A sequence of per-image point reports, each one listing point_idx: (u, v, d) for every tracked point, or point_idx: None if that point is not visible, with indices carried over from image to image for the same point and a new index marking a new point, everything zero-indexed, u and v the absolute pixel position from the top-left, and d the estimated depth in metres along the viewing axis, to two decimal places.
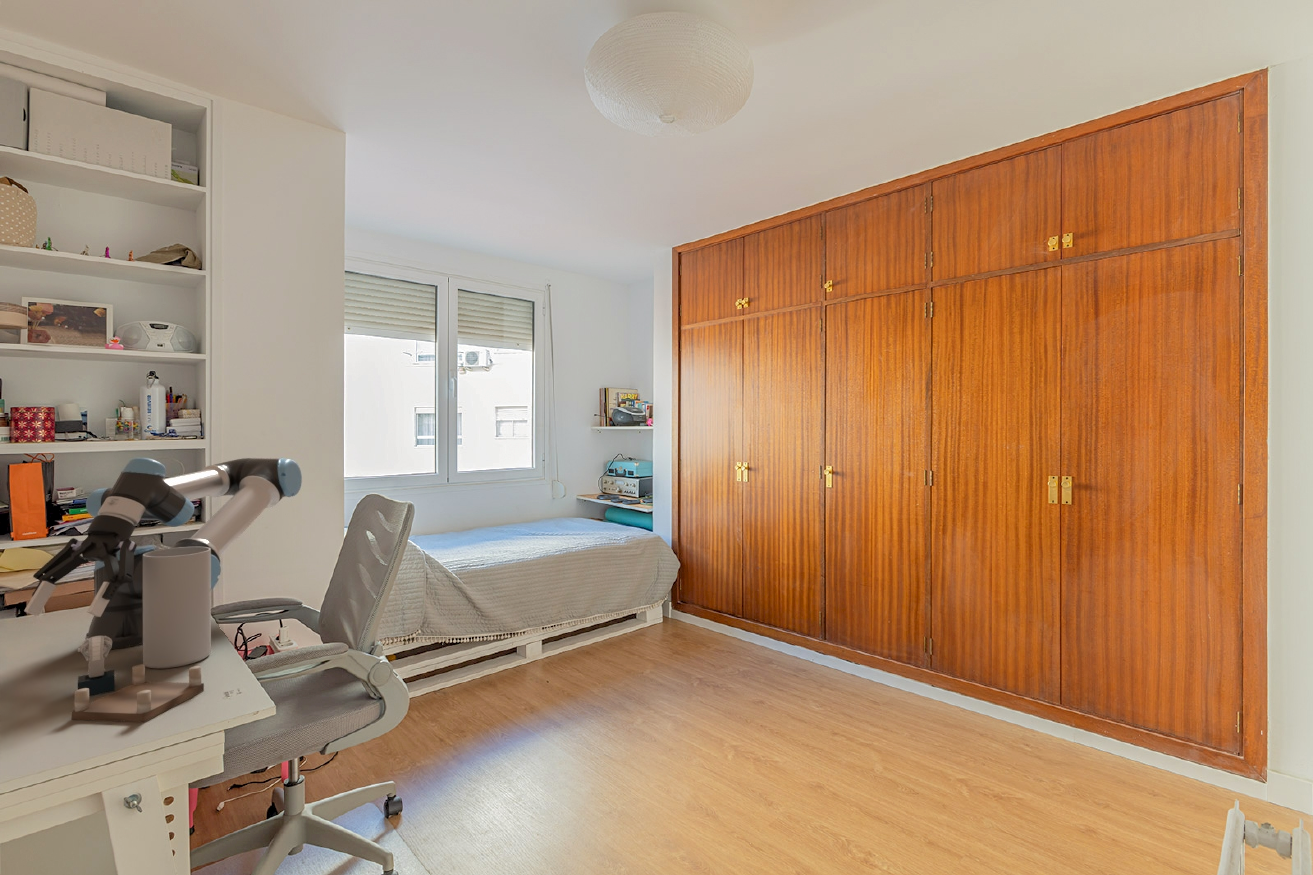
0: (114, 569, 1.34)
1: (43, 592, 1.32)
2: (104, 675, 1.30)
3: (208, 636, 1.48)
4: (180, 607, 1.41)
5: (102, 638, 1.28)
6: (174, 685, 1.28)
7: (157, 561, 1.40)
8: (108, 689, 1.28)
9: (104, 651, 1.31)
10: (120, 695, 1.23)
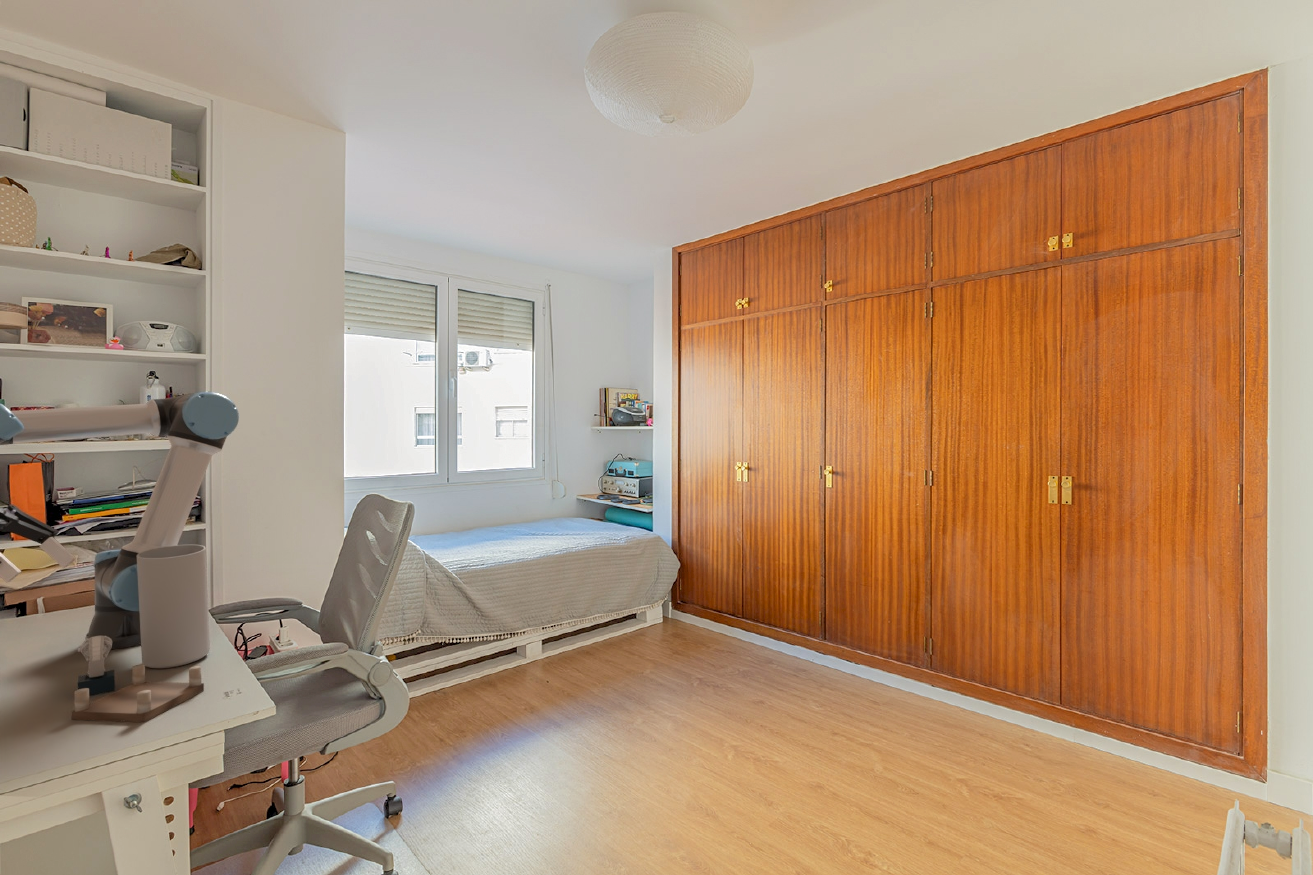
0: None
1: (50, 550, 1.33)
2: (104, 675, 1.30)
3: (207, 634, 1.47)
4: (177, 608, 1.40)
5: (102, 638, 1.28)
6: (174, 685, 1.28)
7: (152, 563, 1.38)
8: (108, 689, 1.28)
9: (104, 651, 1.31)
10: (120, 695, 1.23)
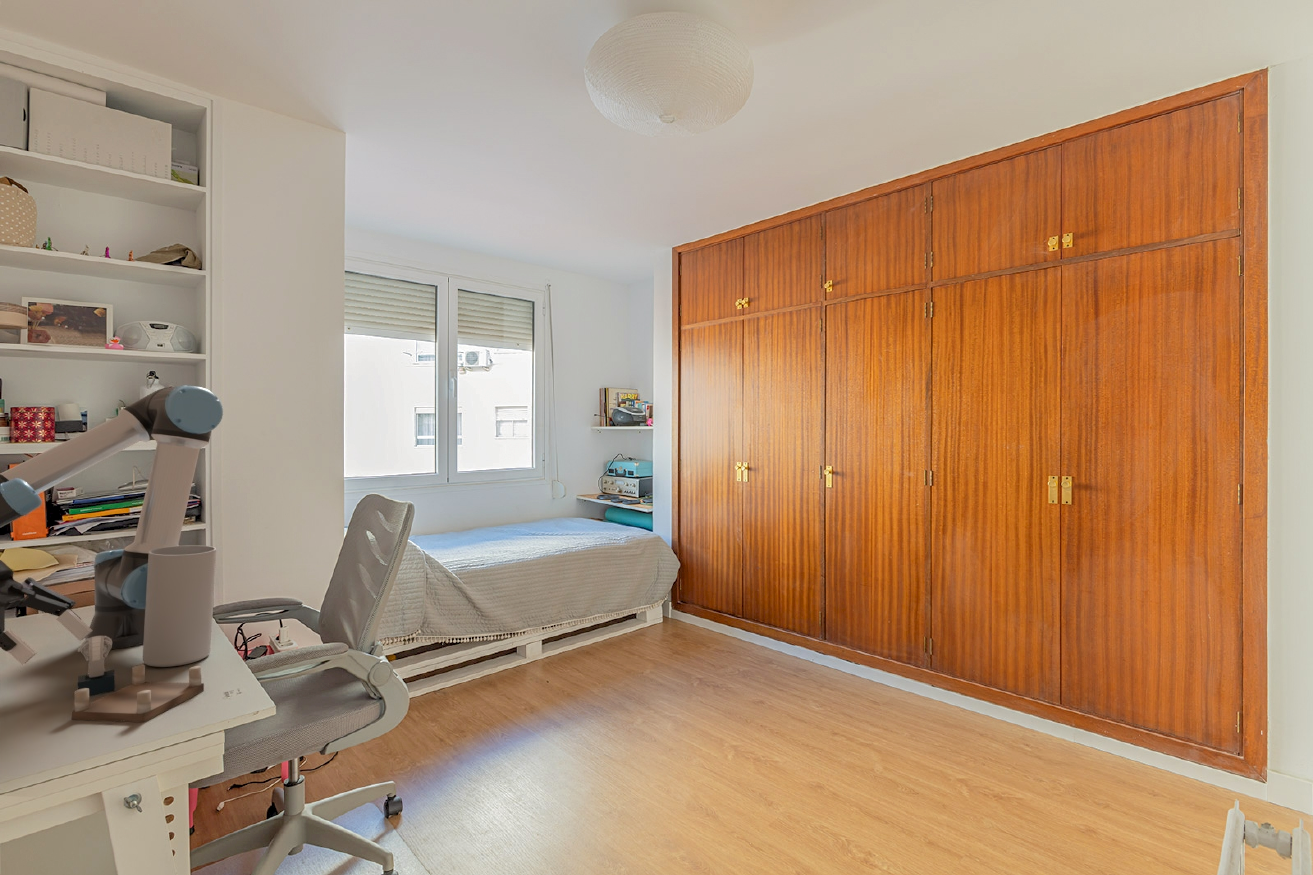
0: None
1: (67, 623, 1.32)
2: (104, 675, 1.30)
3: (209, 636, 1.48)
4: (184, 606, 1.42)
5: (102, 638, 1.28)
6: (174, 685, 1.28)
7: (164, 559, 1.40)
8: (108, 689, 1.28)
9: (104, 651, 1.31)
10: (120, 695, 1.23)
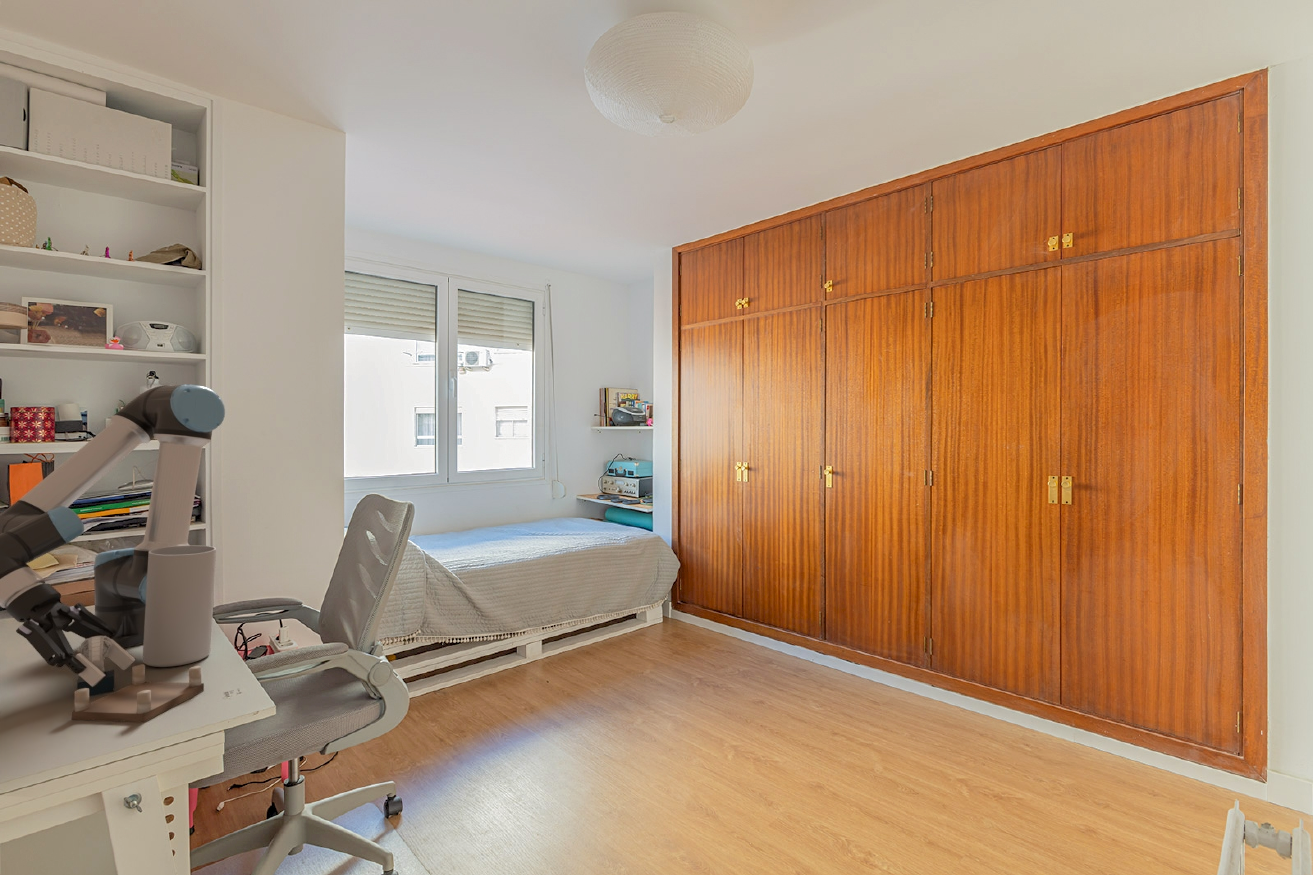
0: None
1: (110, 653, 1.32)
2: None
3: (209, 636, 1.48)
4: (183, 606, 1.42)
5: (102, 638, 1.28)
6: (174, 685, 1.28)
7: (163, 559, 1.40)
8: (107, 689, 1.28)
9: (104, 651, 1.31)
10: (120, 695, 1.23)
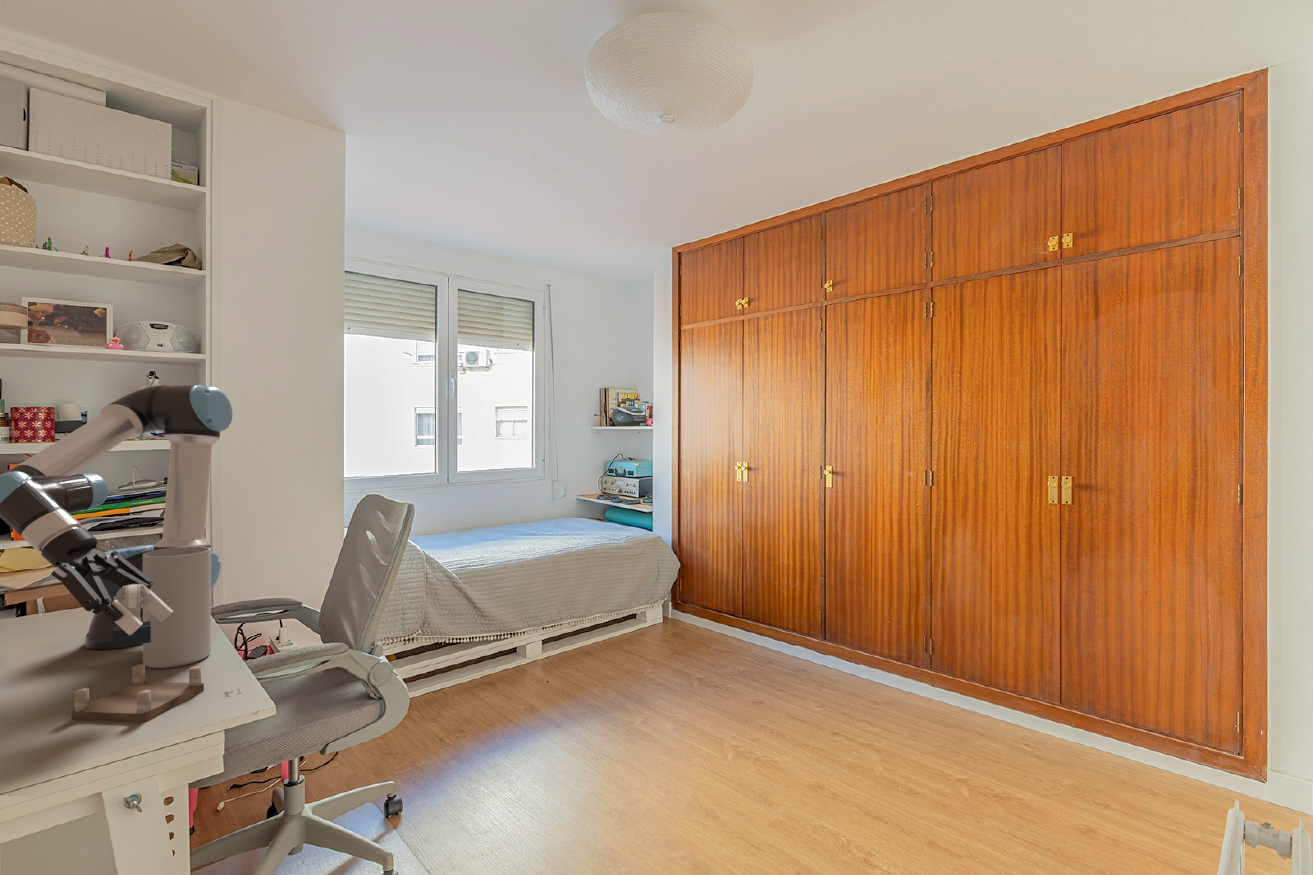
0: None
1: (147, 603, 1.25)
2: (140, 626, 1.23)
3: (208, 636, 1.48)
4: (180, 607, 1.41)
5: (139, 586, 1.21)
6: (174, 685, 1.28)
7: (157, 561, 1.40)
8: (144, 640, 1.21)
9: (140, 601, 1.24)
10: (120, 695, 1.23)
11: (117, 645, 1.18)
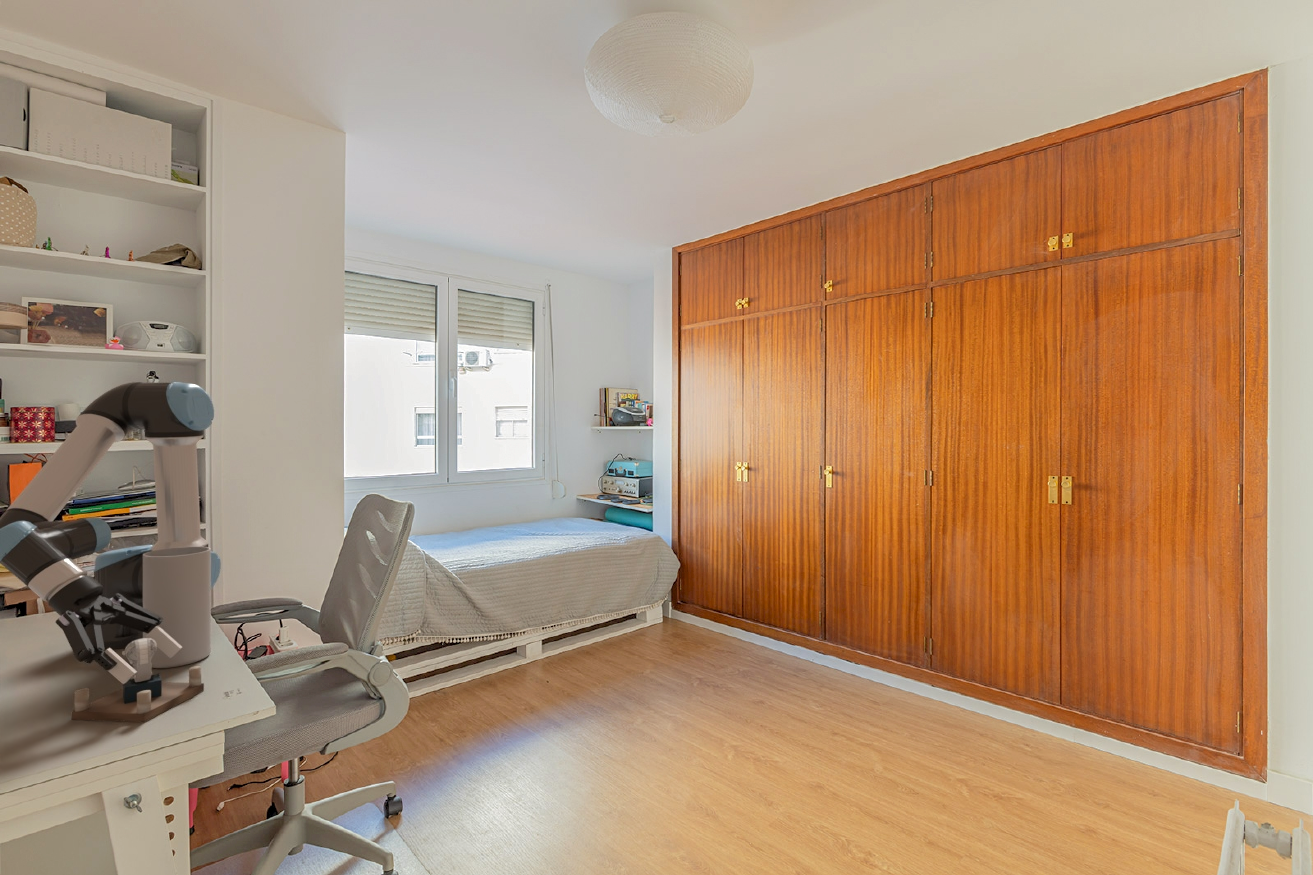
0: None
1: (157, 640, 1.28)
2: (149, 679, 1.24)
3: (208, 636, 1.48)
4: (180, 607, 1.41)
5: (148, 640, 1.22)
6: (174, 685, 1.28)
7: (157, 561, 1.40)
8: (155, 694, 1.22)
9: None
10: (120, 695, 1.23)
11: (129, 701, 1.19)
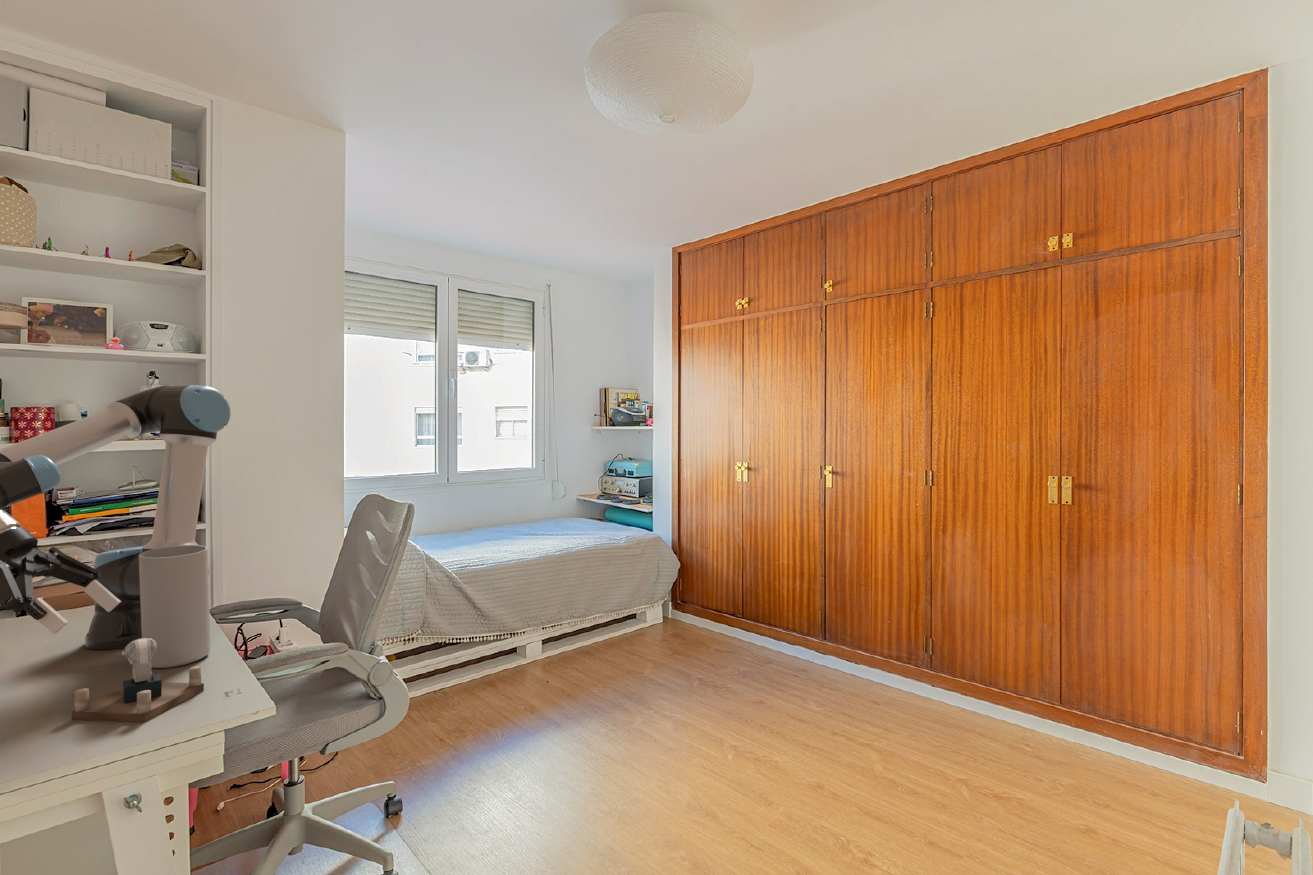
0: None
1: (95, 593, 1.27)
2: (149, 679, 1.24)
3: (207, 635, 1.47)
4: (178, 607, 1.41)
5: (148, 640, 1.22)
6: (174, 685, 1.28)
7: (153, 562, 1.39)
8: (155, 694, 1.22)
9: None
10: (120, 695, 1.23)
11: (129, 701, 1.19)
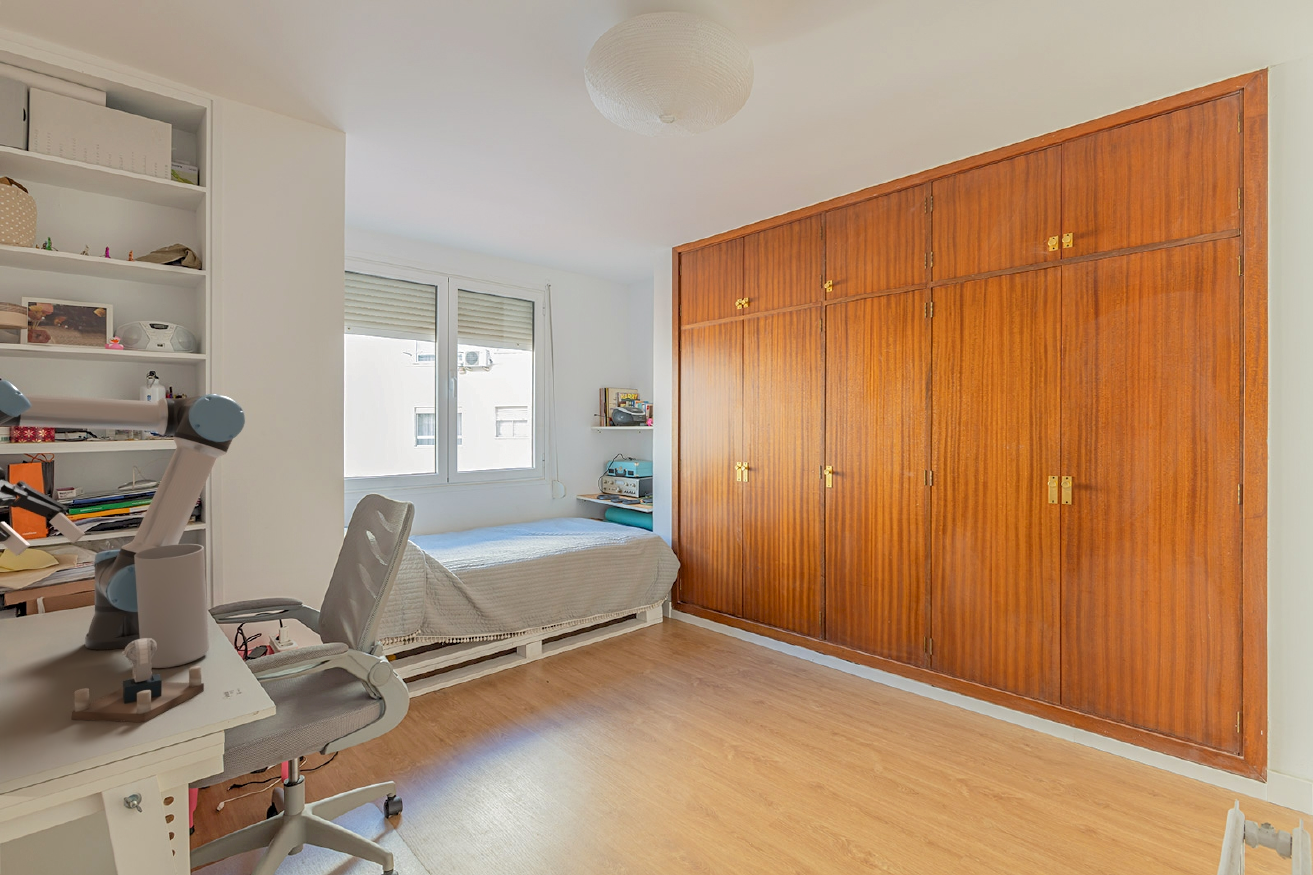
0: None
1: (60, 525, 1.35)
2: (149, 679, 1.24)
3: (206, 634, 1.47)
4: (176, 608, 1.40)
5: (148, 640, 1.22)
6: (174, 685, 1.28)
7: (150, 563, 1.37)
8: (155, 694, 1.22)
9: None
10: (120, 695, 1.23)
11: (129, 701, 1.19)
